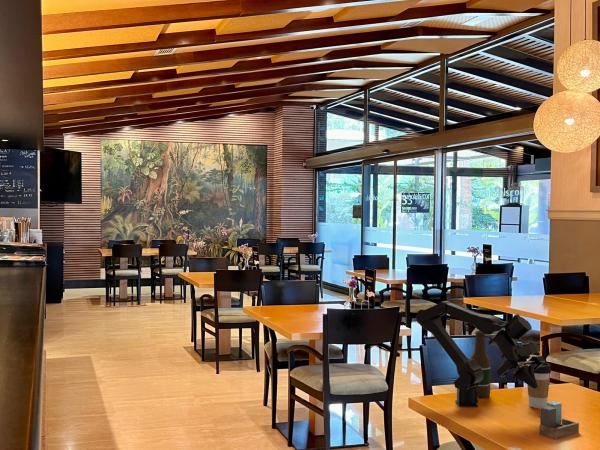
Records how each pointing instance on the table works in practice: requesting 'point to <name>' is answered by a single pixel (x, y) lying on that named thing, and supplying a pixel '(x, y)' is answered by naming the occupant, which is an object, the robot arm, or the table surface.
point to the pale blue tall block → (558, 409)
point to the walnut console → (560, 429)
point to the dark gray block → (548, 416)
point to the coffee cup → (540, 387)
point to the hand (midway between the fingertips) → (536, 387)
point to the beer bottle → (482, 365)
